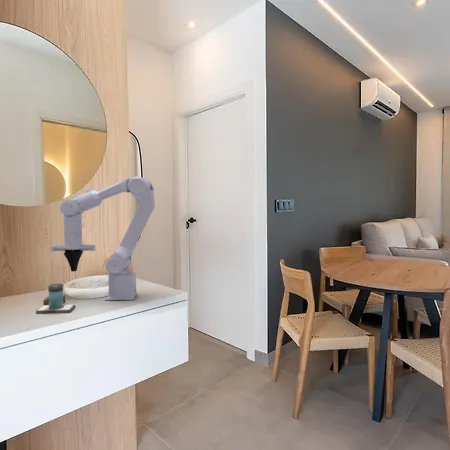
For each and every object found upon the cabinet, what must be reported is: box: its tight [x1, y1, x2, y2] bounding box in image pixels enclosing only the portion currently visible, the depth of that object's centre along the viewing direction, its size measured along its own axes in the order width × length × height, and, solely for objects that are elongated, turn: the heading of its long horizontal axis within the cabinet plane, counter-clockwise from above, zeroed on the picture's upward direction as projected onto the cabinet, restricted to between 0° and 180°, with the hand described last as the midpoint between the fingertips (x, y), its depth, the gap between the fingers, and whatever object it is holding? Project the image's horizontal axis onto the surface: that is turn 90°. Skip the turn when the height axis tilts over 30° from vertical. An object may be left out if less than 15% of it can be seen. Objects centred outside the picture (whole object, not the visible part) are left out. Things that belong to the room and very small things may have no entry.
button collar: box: [42, 294, 66, 306], centre depth 108 cm, size 5×5×2 cm
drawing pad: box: [35, 304, 77, 315], centre depth 103 cm, size 10×5×1 cm, turn 97°
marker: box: [48, 283, 64, 309], centre depth 103 cm, size 4×4×7 cm
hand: (74, 270), depth 117 cm, fingers closed
